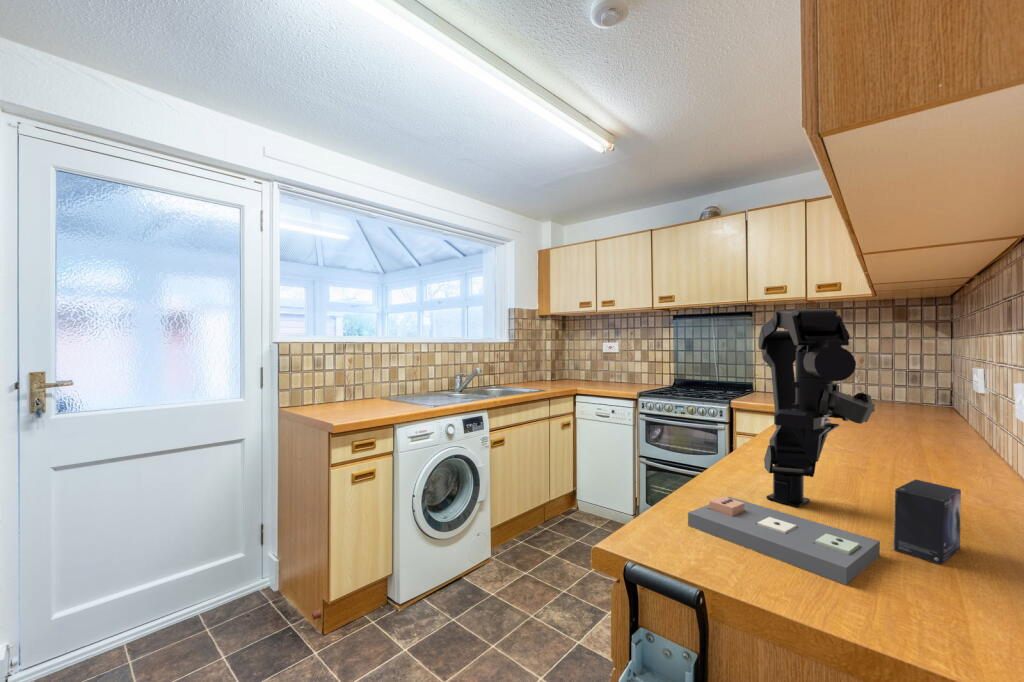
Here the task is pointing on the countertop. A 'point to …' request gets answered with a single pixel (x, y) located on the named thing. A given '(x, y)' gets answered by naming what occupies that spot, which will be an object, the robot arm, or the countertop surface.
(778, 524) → the one-dot button
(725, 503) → the three-dot button
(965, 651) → the countertop surface
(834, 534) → the button board
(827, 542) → the two-dot button
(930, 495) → the small box
